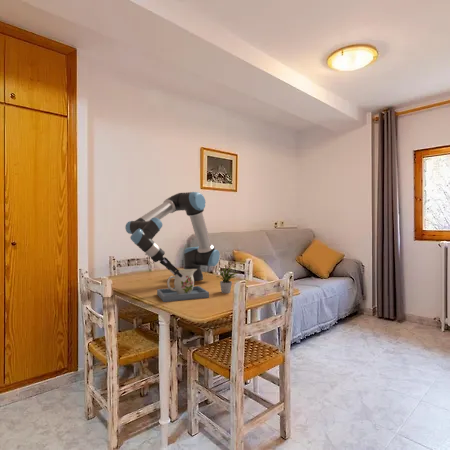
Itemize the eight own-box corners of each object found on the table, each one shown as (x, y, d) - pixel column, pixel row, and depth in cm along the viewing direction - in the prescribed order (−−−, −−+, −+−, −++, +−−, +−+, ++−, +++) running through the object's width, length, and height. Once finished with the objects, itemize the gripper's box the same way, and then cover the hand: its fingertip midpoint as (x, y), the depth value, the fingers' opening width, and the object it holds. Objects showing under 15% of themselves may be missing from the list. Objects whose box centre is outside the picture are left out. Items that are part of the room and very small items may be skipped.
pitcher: (163, 294, 182) (163, 269, 182) (192, 290, 192) (192, 267, 192) (171, 298, 173) (171, 272, 173) (201, 294, 183) (201, 270, 182)
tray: (198, 290, 196) (198, 286, 196) (208, 297, 179) (208, 292, 179) (157, 294, 186) (157, 289, 186) (163, 302, 169) (163, 296, 169)
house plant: (217, 296, 182) (217, 267, 182) (208, 291, 195) (208, 264, 194) (240, 294, 188) (240, 265, 187) (230, 289, 200) (230, 262, 200)
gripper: (146, 255, 187) (172, 279, 193) (154, 260, 163) (183, 287, 170) (155, 245, 188) (180, 270, 195) (164, 249, 165) (193, 277, 172)
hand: (182, 278), depth 182 cm, fingers open, 13 cm apart
